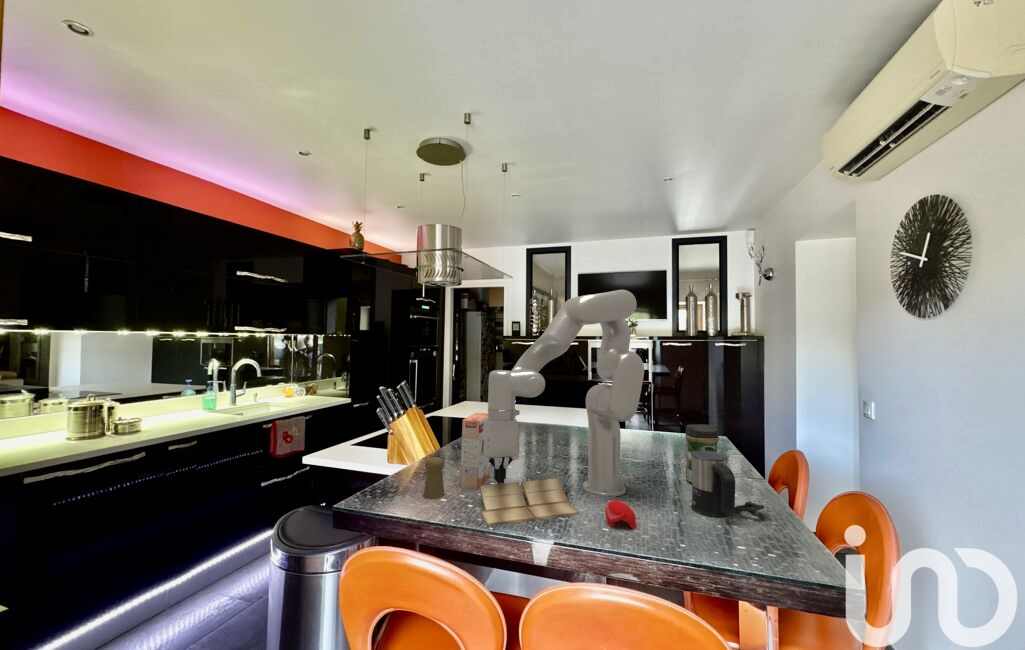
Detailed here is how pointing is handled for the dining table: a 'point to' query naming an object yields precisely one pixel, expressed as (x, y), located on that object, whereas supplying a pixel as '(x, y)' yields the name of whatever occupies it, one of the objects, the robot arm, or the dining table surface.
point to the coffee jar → (700, 442)
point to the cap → (620, 513)
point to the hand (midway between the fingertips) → (499, 481)
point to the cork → (434, 478)
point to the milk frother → (715, 486)
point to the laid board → (528, 513)
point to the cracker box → (473, 453)
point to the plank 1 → (502, 496)
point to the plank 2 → (543, 491)
